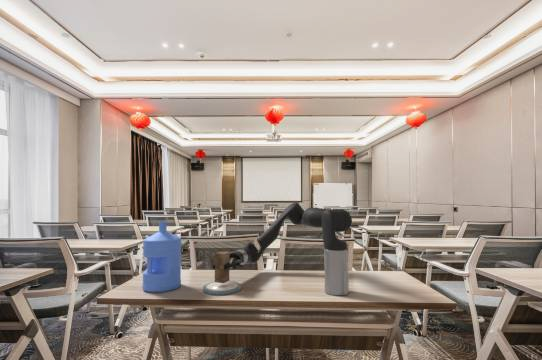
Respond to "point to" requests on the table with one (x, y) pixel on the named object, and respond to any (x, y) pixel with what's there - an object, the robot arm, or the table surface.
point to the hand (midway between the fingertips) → (219, 267)
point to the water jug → (162, 261)
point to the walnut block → (221, 267)
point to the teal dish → (221, 288)
